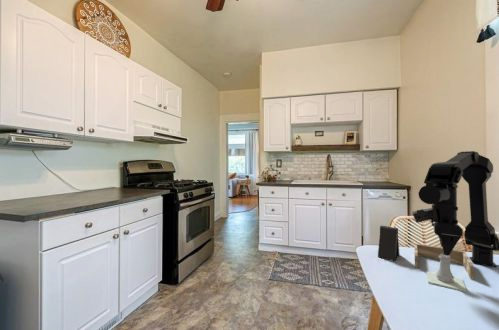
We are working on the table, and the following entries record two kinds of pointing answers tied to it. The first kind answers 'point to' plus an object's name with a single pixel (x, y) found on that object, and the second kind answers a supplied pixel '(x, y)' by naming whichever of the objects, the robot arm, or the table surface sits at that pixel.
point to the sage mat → (456, 284)
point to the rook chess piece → (445, 269)
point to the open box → (454, 255)
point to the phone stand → (388, 243)
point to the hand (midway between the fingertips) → (444, 250)
